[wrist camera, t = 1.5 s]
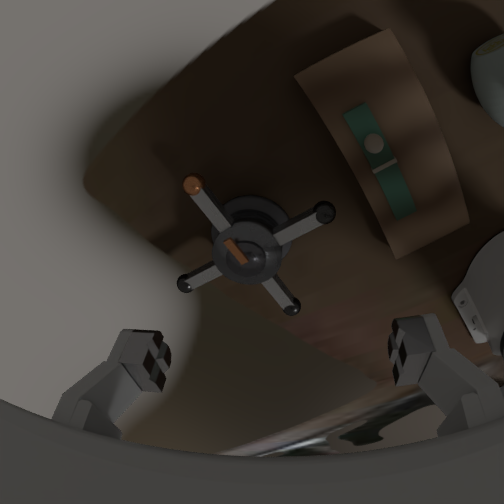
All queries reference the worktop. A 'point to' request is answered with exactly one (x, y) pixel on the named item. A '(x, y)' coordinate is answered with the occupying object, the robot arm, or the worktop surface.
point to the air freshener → (490, 77)
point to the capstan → (249, 243)
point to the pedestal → (256, 204)
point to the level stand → (389, 139)
